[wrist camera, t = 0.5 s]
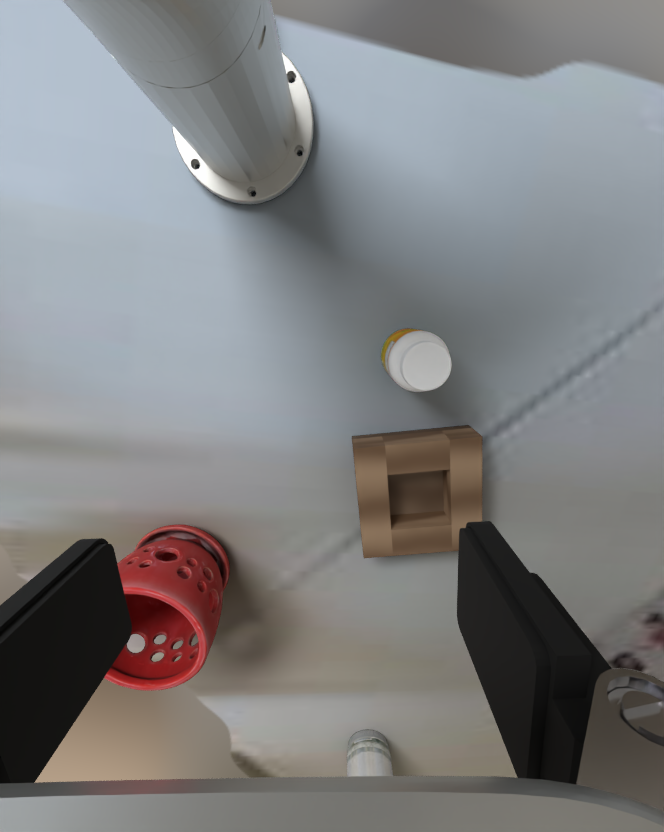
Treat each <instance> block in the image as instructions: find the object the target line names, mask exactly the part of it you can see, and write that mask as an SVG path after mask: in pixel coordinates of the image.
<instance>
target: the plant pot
mask: <svg viewBox="0 0 664 832" xmlns="http://www.w3.org/2000/svg"><path fill="white" fill-rule="evenodd" d="M117 565H118V569H119V573H120V577H121V582H122V586H123V590H124V594H125V598H126V603H127V607H128V611H129V615H130V619H131V623H132V632H131V635H132V634H139V635H141V636H142V637H143V638H144V640H145V647H144V649H143V650H142V651H141V652H138V653H132V652H130V651H129V650H128V648H127V644H126V645H125V647H124V648H123V650H122V651H121V653H120V654H119V656H118V657H117V659H116V660H115V662H114V663H113V665H112V666H111V668H110V669H109V671H108V672H107V674H106V675H105V677H104V678H105V679H107V680H109V681H111V682H113V683H115V684H118V685H121V686H124V687H128V688H131V689H136V690H163V689H168V688H172V687H175V686H178V685H180V684H182V683H184V682H186V681H188V680H189V679H191V678H192V677H193V676H194V675H196V674H197V673H198V672H199V670H200V669H201V668H202V666H203V665H204V663H205V661H206V658H207V656H208V653H209V650H210V648H211V645H212V643H213V640H214V637H215V634H216V630H217V627H218V623H219V619H220V615H221V609H222V600H223V590H224V589H225V587H226V585H227V582H228V579H229V573H230V567H229V561H228V558H227V555H226V553H225V551H224V549H223V548H222V546H221V545H220V544H219V542H218V541H217V540H216V539H214V538H213V537H212V536H211V535H209V534H208V533H206V532H204V531H202V530H200V529H198V528H195V527H192V526H188V525H169V526H164V527H161V528H158V529H155V530H153V531H152V532H150V533H148V534H147V535H146V536H144V537H143V538H142V539H141V540H140V542H139V543H138V545H137V546H136V548H135V551H134V552H132V553H131V554H129V555H128V556H126V557H125V558H124V559H122V560H121V561H120V562H119V563H118V564H117ZM196 633H197V636H198V640H199V642H198V643H197V644H195V645H193V646H191V642H192V639H193V637H194V636H195V634H196ZM158 635H165V636H166V641H165V642H164V643H162V644H160V645H159V644H155V643H154V639H155V638H156V637H157V636H158ZM180 640H183V644H182V646H181V647H180V648H178V649H173V646H174V644H175V643H176V642H178V641H180ZM158 652H162V653H164V657H163V658H162V659H161V660H160V661H157V662H153V661H152V660H151V659H152V656H153V655H154V654H156V653H158ZM181 655H182V656H181ZM178 656H181V658H180V659H179V660H178V661H176V662H174V661H175V659H176V658H177V657H178Z"/></svg>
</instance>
